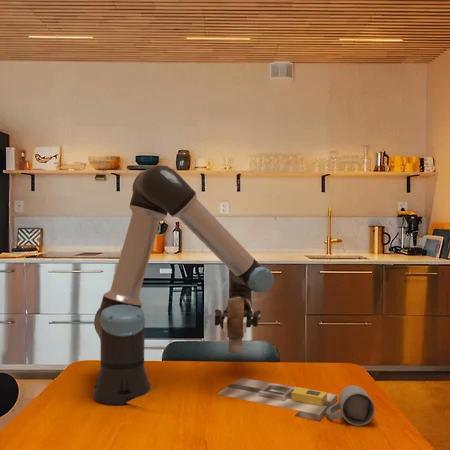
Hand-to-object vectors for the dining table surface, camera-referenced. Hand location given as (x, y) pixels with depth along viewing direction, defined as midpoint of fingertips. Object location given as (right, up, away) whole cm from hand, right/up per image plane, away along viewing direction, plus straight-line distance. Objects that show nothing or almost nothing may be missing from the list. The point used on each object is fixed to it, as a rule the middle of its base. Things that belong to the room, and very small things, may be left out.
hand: (234, 327), depth 124 cm
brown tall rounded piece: (0, -8, +5) cm, 9 cm away
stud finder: (+19, -19, 0) cm, 27 cm away
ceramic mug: (+27, -21, -8) cm, 35 cm away
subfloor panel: (+11, -20, +4) cm, 23 cm away
